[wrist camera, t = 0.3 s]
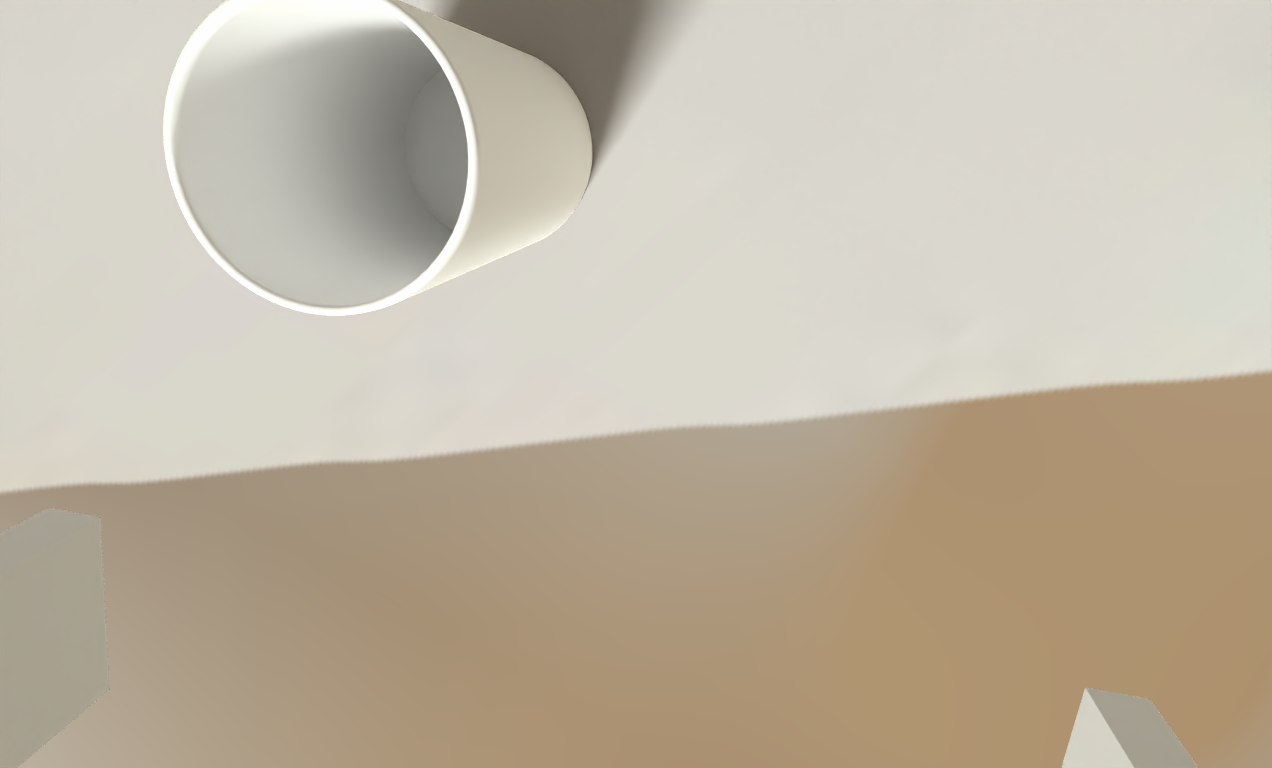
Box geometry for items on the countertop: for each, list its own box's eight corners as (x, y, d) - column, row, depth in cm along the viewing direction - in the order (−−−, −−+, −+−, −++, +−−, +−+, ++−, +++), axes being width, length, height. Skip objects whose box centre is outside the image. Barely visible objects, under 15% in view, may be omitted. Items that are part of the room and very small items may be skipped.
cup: (481, 2, 36) (277, -106, 20) (633, 141, 36) (545, 137, 21) (365, 160, 38) (103, 169, 23) (510, 288, 39) (350, 380, 23)
